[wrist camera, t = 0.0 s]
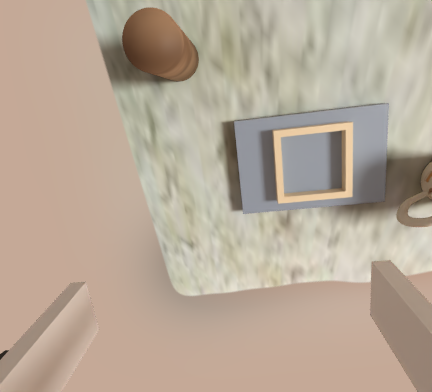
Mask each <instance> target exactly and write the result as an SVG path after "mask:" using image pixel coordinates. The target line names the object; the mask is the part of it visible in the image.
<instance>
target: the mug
mask: <svg viewBox="0 0 432 392" xmlns="http://www.w3.org/2000/svg"><path fill="white" fill-rule="evenodd" d="M421 187H422V190H423V192H421V193H418V194H416V195H414V196H412V197H410V198H408V199H406V200H405V201H404V202H403V203H402V204H401V206H400V207H399V209H398V211H397V220H398V221H399V222H400V223H401V224H403V225H406V226H411V227H428V226H432V216H431V217H428V218H412V217H409V216H408V209H409V207H410V205H412V204H413V203H415V202H417V201H418V200H420V199H422V198H424V197H426V196H428V197H429V198H430V199H432V161H431V162H430V163H429V164H428V165H427V166H426V167H425V169H424V171H423V173H422V176H421Z"/></svg>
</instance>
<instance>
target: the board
mask: <svg viewBox="0 0 432 392" xmlns="http://www.w3.org/2000/svg"><path fill="white" fill-rule="evenodd" d="M388 110H389V104H388V103H382V104H374V105H365V106H357V107H348V108H340V109H331V110H323V111H314V112H306V113H297V114H289V115H280V116H272V117H263V118H255V119H246V120H238V121H234V127H235V137H236V147H237V157H238V167H239V177H240V187H241V197H242V207H243V214H247V213H259V212H270V211H281V210H293V209H304V208H316V207H327V206H339V205H350V204H362V203H373V202H384V201H385V186H386V161H387V135H388Z"/></svg>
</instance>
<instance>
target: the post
mask: <svg viewBox="0 0 432 392" xmlns="http://www.w3.org/2000/svg"><path fill="white" fill-rule="evenodd" d="M122 42H123V48H124V51H125V54H126V56H127V58H128V59H129V61H130V62H131V63H132V64H133V65H134V66H135V67H136V68H138V69H140V70H141V71H144V72H147V73H150V74H153V75H157V76H160V77H163V78H167V79H170V80H173V81H184V80H187V79H189V78H190V77H191V76H192V75H193V74H194V73H195V71H196V69H197V67H198V61H199V58H198V52H197V50H196V48H195V46H194V45H193V43H192V42H191V41H190V40H189V38H188V37H187V36H186V35H185V33H184V32H183V31H182V30H181V29H180V27H179V26H178V25H177V24H176V22H175V21H174V20H173V19H172V17H171V16H170V15H168V14H167V13H166V12H164V11H162V10H160V9H157V8H144V9H141V10H138V11H137V12H135V13H134V14H133V15H131V17H130V18H129V19H128V20H127V22H126V24H125V27H124V30H123V36H122Z"/></svg>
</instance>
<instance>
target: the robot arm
mask: <svg viewBox="0 0 432 392" xmlns="http://www.w3.org/2000/svg"><path fill="white" fill-rule="evenodd" d="M370 315H371V317H372V319H373V320H374V322H375V323H376V325H377V327H378V328H379V330H380V332H381V333H382V335H383V336H384V338H385V340H386V341H387V343H388V344H389V346H390V348H391V349H392V351H393V353H394V354H395V356H396V357H397V359H398V361H399V362H400V364H401V365H402V367H403V369H404V371H405V372H406V374H407V375H408V377H409V379H410V380H411V382H412V383H413V385H414V387H415V388H416V390H417V392H432V304H431V303H430V302H429V301H428V300H427V299H426V298H425V297H424V296H423V295H422V294H421V292H420V291H419V290H418V289H417V288H416V287H415V286H414V285H413V284H412V283H411V282H410V281H409V280H408V279H407V278H406V277H405V276H404V275H403V273H402V272H401V271H400V270H399V269H398V268H397V267H396V266H395V265H394V264H393V263H392V262H391V261H390V260H388V261H374V262H372V269H371V308H370ZM98 331H99V327H98V324H97V320H96V316H95V313H94V309H93V306H92V302H91V298H90V296H89V291H88V287H87V284H86V282H78V283H70V284H69V286H68V287H67V288H66V289H65V290H64V291H63V292H62V293H61V294H60V296H58V298H57V299H56V300H55V301H54V302H53V303H52V304H51V305H50V306H49V308H47V310H46V311H45V312H44V313H43V314H42V315H41V316H40V317H39V318H38V319H37V320H36V322H35V323H34V324H33V325H32V326H31V327H30V328H29V329H28V330H27V331H26V332H25V334H24V335H23V336H22V337H21V338H20V339H19V340H18V341H17V342H16V343H15V344H14V346H13V347H12V348H11V349H10V350H8V351H7V350H6V351H4V352H3V353H1V354H0V392H61V391H62V390H63V388H64V387H65V385H66V383H67V382H68V380H69V378H70V377H71V375H72V373H73V372H74V370H75V369H76V367H77V365H78V364H79V362H80V360H81V359H82V357H83V355H84V354H85V352H86V350H87V349H88V347H89V345H90V344H91V342H92V341H93V339H94V337H95V336H96V334H97V332H98Z"/></svg>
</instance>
